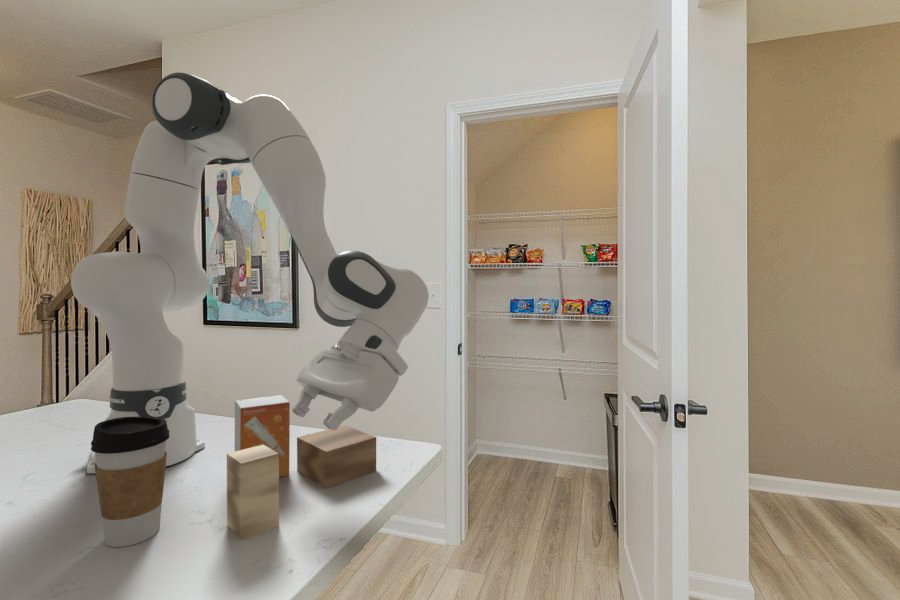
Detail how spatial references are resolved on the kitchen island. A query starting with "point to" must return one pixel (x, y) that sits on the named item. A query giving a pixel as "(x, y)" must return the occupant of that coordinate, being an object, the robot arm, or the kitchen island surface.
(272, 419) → the small box
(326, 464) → the walnut block
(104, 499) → the coffee cup
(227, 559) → the kitchen island surface
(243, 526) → the oak block
